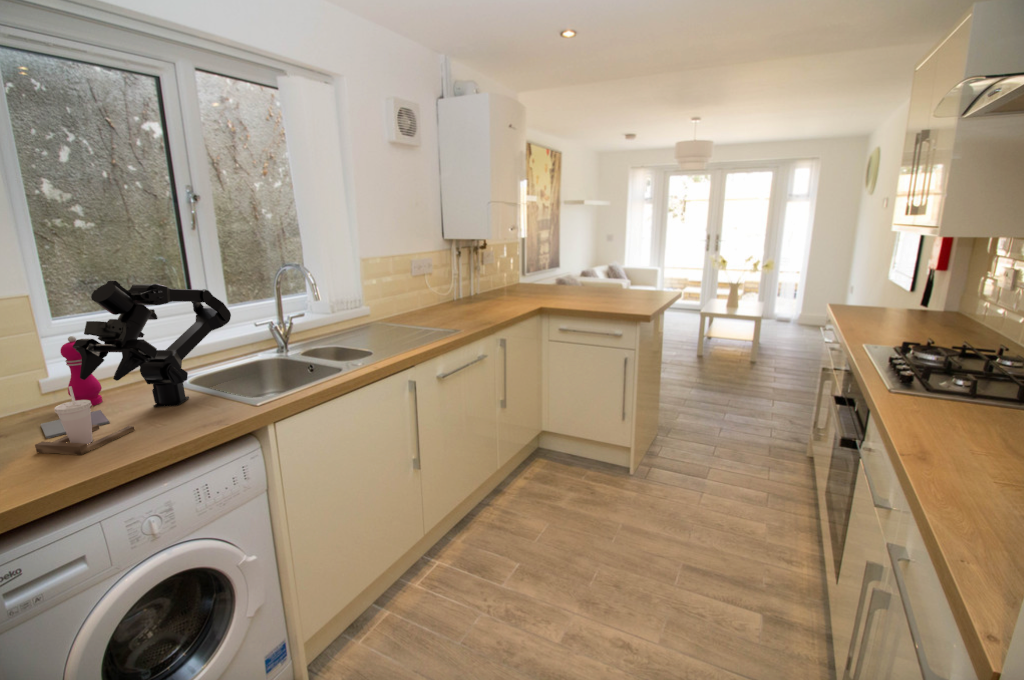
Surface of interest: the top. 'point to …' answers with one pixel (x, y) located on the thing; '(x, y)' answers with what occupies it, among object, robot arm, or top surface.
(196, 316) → the robot arm
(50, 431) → the plate
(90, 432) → the smoothie
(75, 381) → the pepper mill
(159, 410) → the top surface
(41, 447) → the lane
